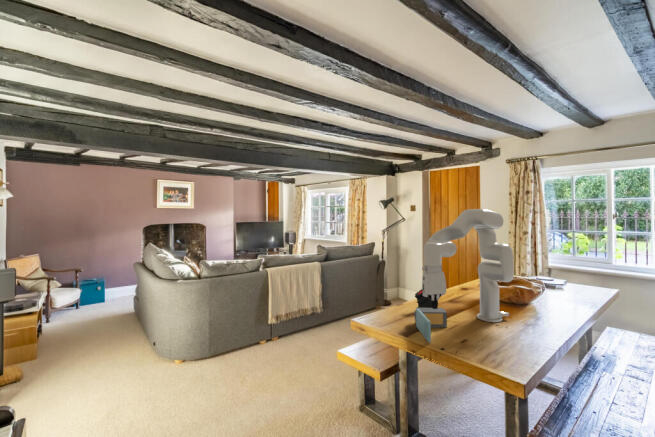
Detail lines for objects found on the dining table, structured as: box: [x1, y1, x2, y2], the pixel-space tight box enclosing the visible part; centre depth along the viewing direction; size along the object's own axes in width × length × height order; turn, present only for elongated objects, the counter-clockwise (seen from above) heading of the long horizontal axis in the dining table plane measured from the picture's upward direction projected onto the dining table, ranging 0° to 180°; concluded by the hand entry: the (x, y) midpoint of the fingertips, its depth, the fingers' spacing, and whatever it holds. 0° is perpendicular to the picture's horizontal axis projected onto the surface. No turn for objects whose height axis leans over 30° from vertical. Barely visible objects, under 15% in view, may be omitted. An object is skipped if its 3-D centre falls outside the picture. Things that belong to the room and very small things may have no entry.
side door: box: [415, 307, 432, 343], centre depth 149 cm, size 20×2×10 cm, turn 0°
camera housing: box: [413, 307, 448, 329], centre depth 161 cm, size 15×7×8 cm, turn 85°
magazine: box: [414, 288, 431, 308], centre depth 183 cm, size 4×13×15 cm, turn 113°
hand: (434, 308), depth 141 cm, fingers closed
